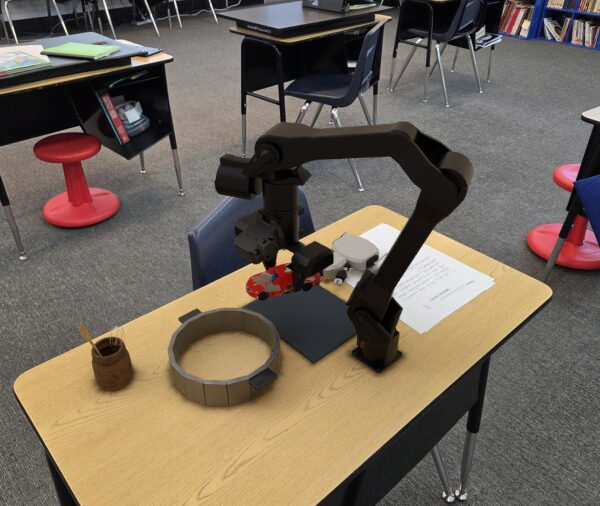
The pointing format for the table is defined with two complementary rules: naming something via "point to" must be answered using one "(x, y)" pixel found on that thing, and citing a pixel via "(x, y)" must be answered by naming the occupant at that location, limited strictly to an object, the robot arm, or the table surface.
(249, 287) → the race car
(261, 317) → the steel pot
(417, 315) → the table surface
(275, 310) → the rubber mat
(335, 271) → the robot toy
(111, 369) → the utensil holder
